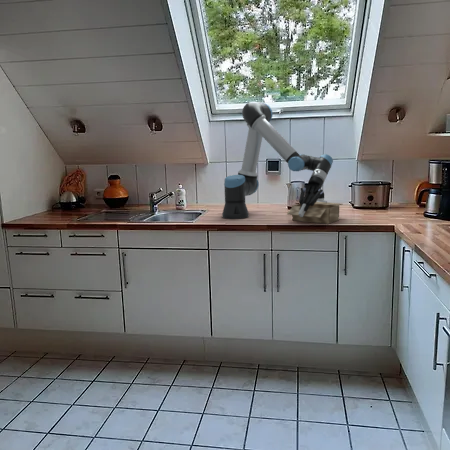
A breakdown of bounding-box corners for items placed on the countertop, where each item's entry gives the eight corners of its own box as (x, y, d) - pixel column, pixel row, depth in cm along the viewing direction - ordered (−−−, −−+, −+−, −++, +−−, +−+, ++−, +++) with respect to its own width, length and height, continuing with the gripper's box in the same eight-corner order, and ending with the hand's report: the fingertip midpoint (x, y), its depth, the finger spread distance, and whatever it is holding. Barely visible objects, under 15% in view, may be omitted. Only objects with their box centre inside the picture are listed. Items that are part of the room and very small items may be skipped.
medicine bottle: (327, 213, 261) (327, 192, 258) (316, 214, 258) (316, 193, 256) (321, 211, 267) (321, 191, 265) (310, 212, 265) (310, 192, 263)
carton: (291, 220, 242) (291, 205, 240) (308, 215, 256) (308, 201, 254) (329, 224, 228) (329, 208, 226) (345, 218, 242) (345, 203, 241)
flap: (293, 206, 239) (287, 214, 235) (293, 205, 238) (286, 213, 234) (325, 209, 227) (319, 217, 223) (325, 208, 227) (319, 217, 222)
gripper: (303, 174, 238) (286, 209, 229) (326, 175, 230) (309, 212, 220) (308, 183, 243) (292, 218, 234) (330, 185, 235) (314, 221, 225)
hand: (300, 215), depth 227 cm, fingers closed
